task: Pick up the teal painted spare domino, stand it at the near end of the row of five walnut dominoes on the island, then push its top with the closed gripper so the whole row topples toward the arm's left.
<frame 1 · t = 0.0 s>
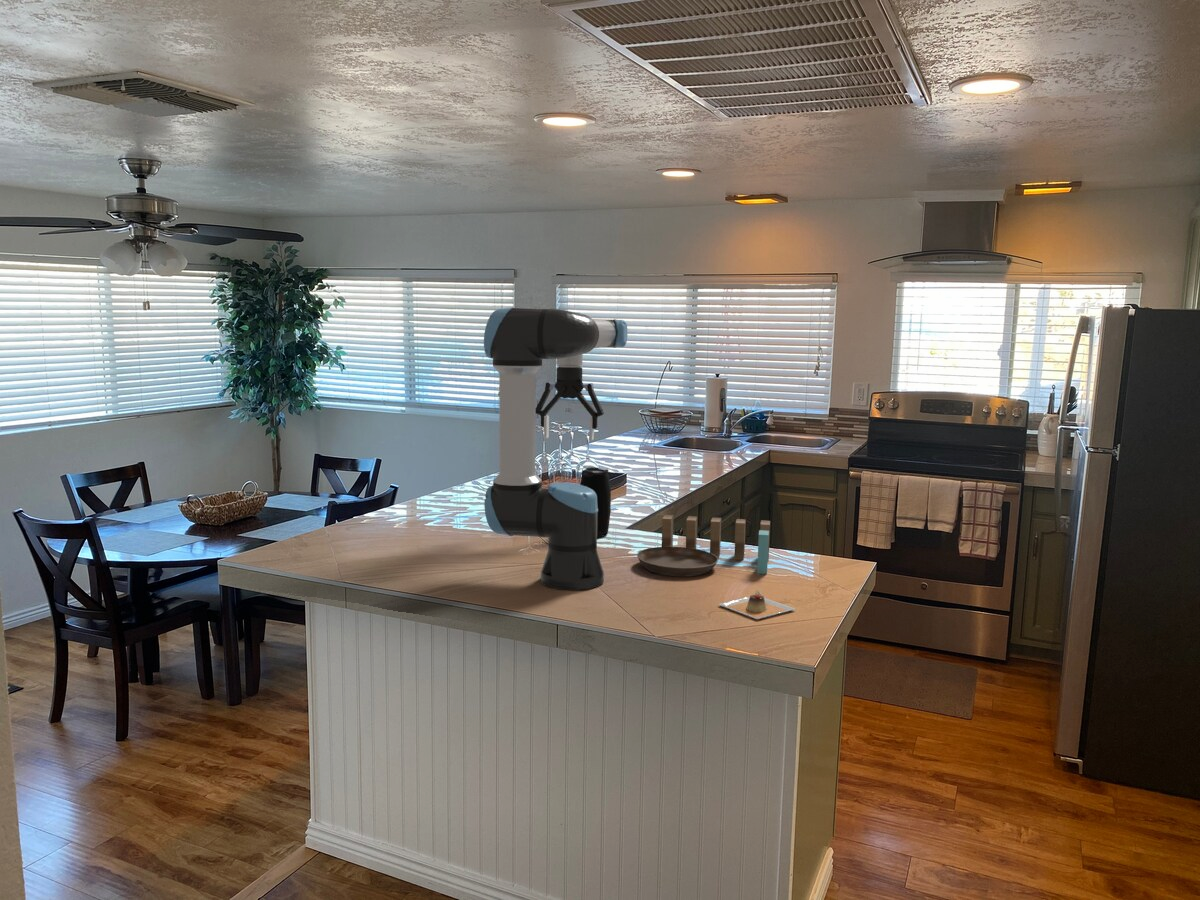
hand: (568, 439, 259), 28 cm above the worktop, fingers open, 13 cm apart
spare domino: (762, 571, 224), on the worktop
domino 4: (714, 556, 238), on the worktop
portable speaker: (594, 535, 260), on the worktop
domino 3: (739, 557, 237), on the worktop
plant saucer: (677, 569, 227), on the worktop
domino 6: (667, 552, 241), on the worktop
domino 2: (763, 559, 236), on the worktop
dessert: (756, 612, 194), on the worktop
domino 5: (690, 554, 240), on the worktop
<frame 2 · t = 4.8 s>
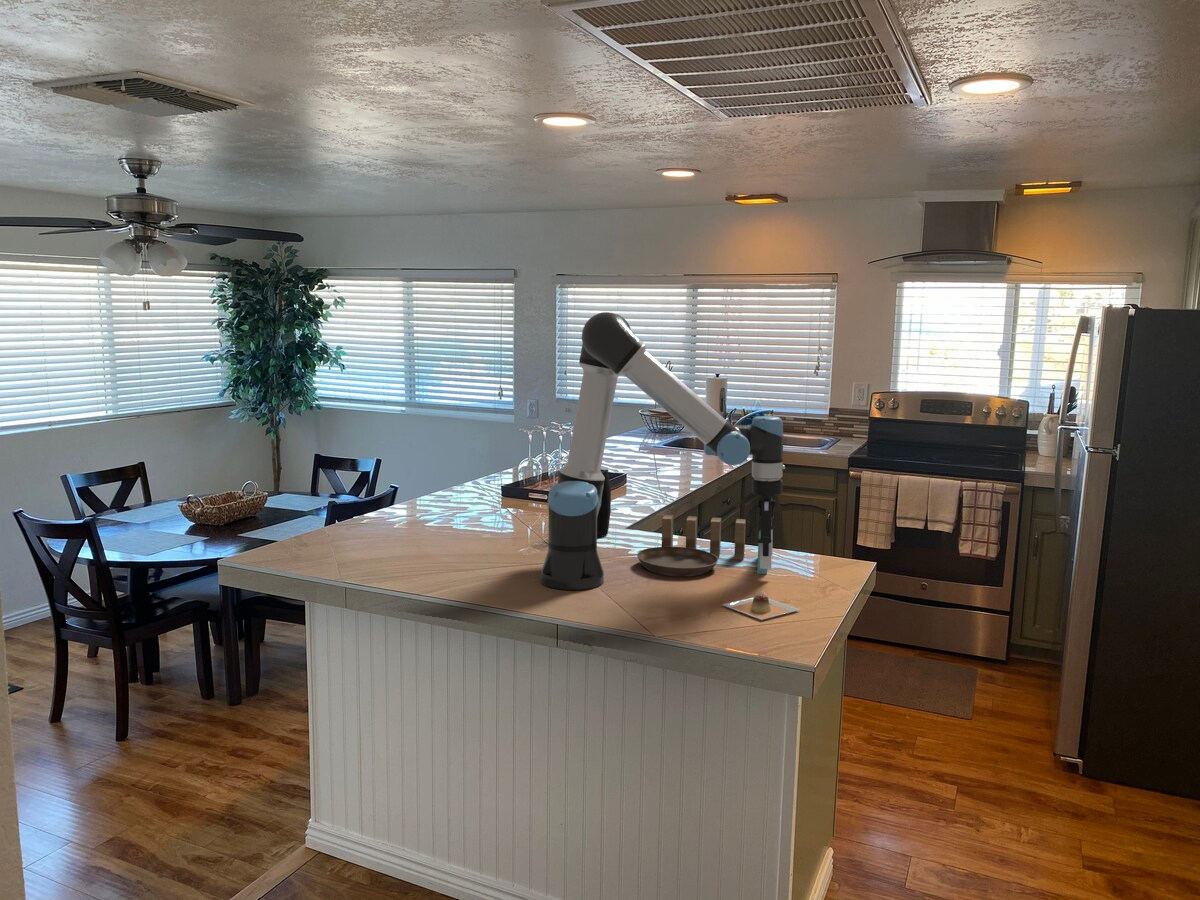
hand: (766, 561, 224), 3 cm above the worktop, fingers open, 13 cm apart
domino 2: (764, 560, 236), on the worktop, touching gripper
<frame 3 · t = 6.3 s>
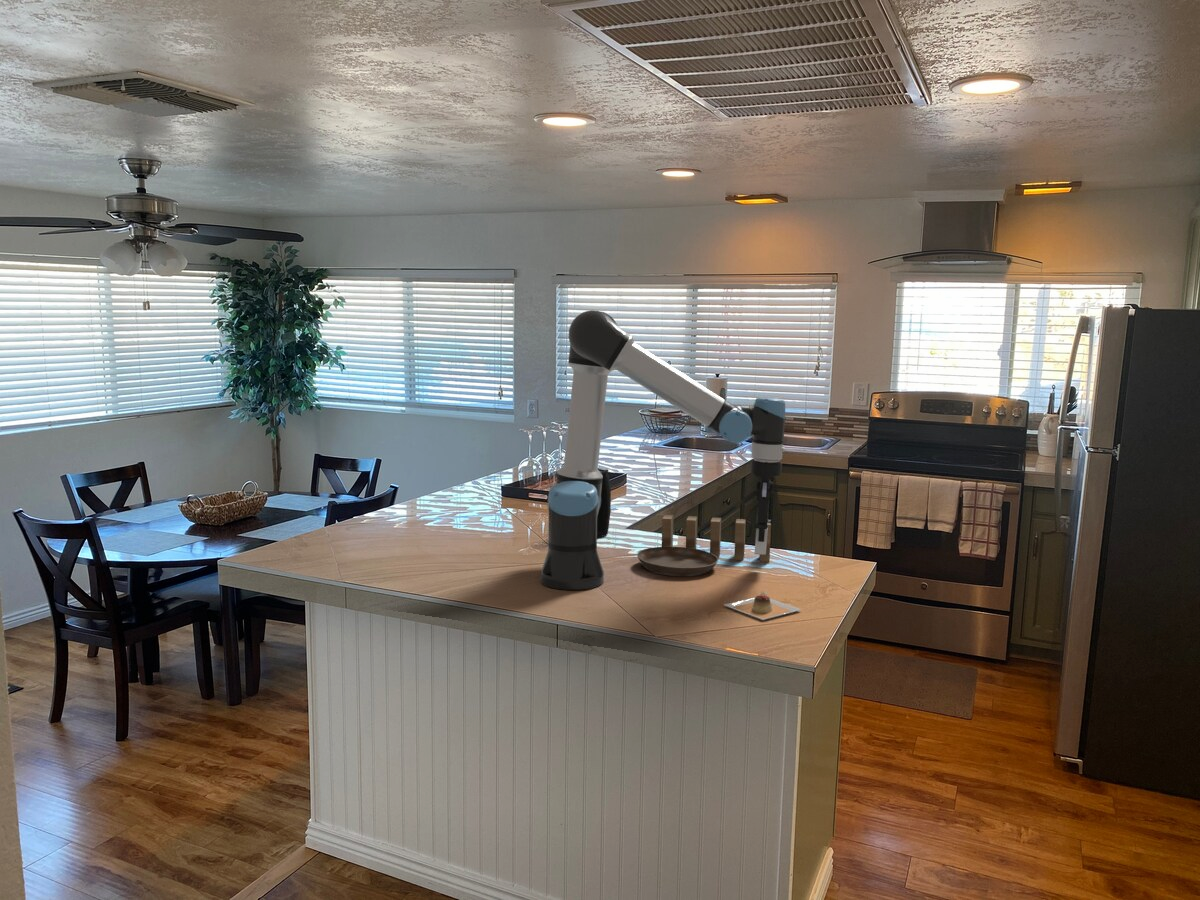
hand: (760, 550, 223), 5 cm above the worktop, fingers closed on spare domino, 5 cm apart
spare domino: (759, 552, 224), point 5 cm above the worktop, touching gripper
domino 2: (764, 559, 236), on the worktop
when the fingers open (2 cm above the worktop, at t = 10.5 s): spare domino drops 1 cm, on the worktop.
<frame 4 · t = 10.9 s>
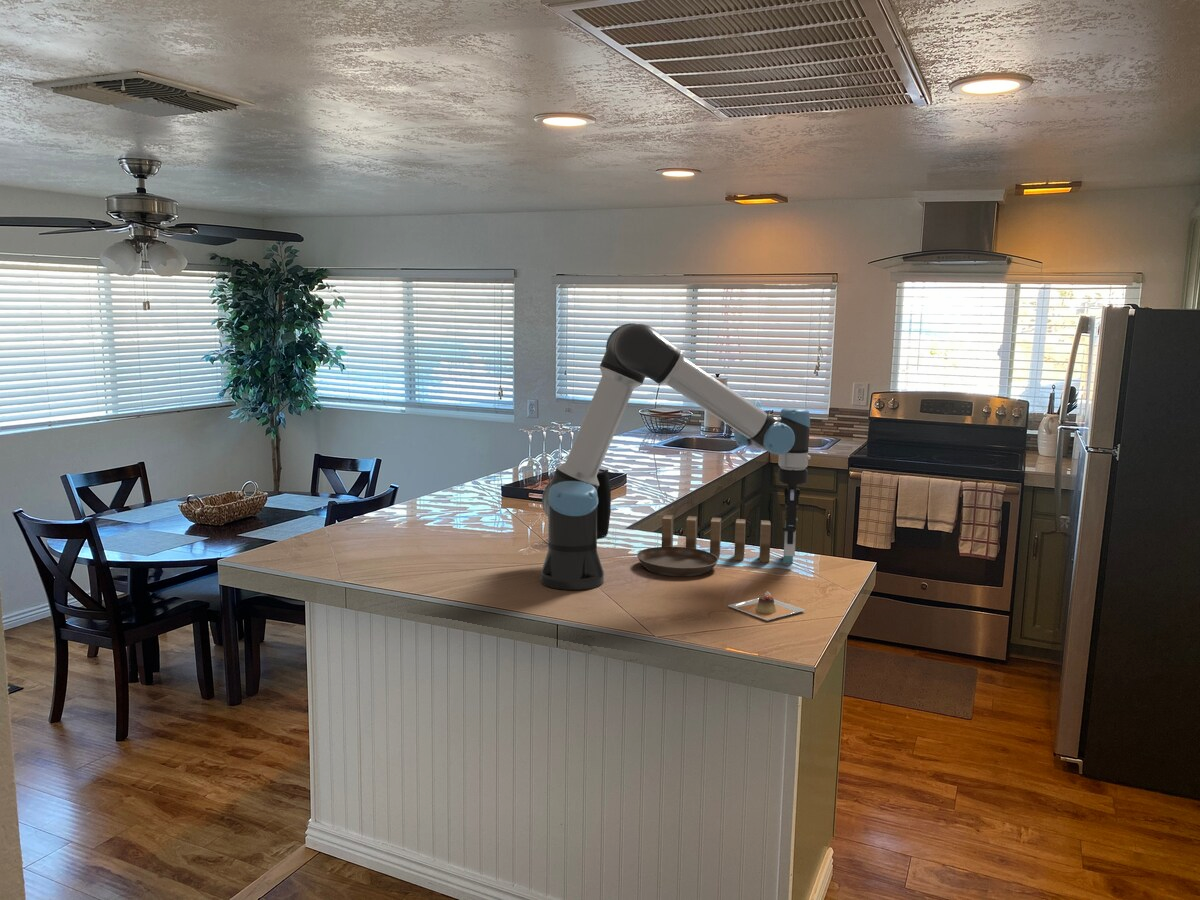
hand: (789, 550, 234), 3 cm above the worktop, fingers open, 10 cm apart
spare domino: (788, 560, 235), on the worktop
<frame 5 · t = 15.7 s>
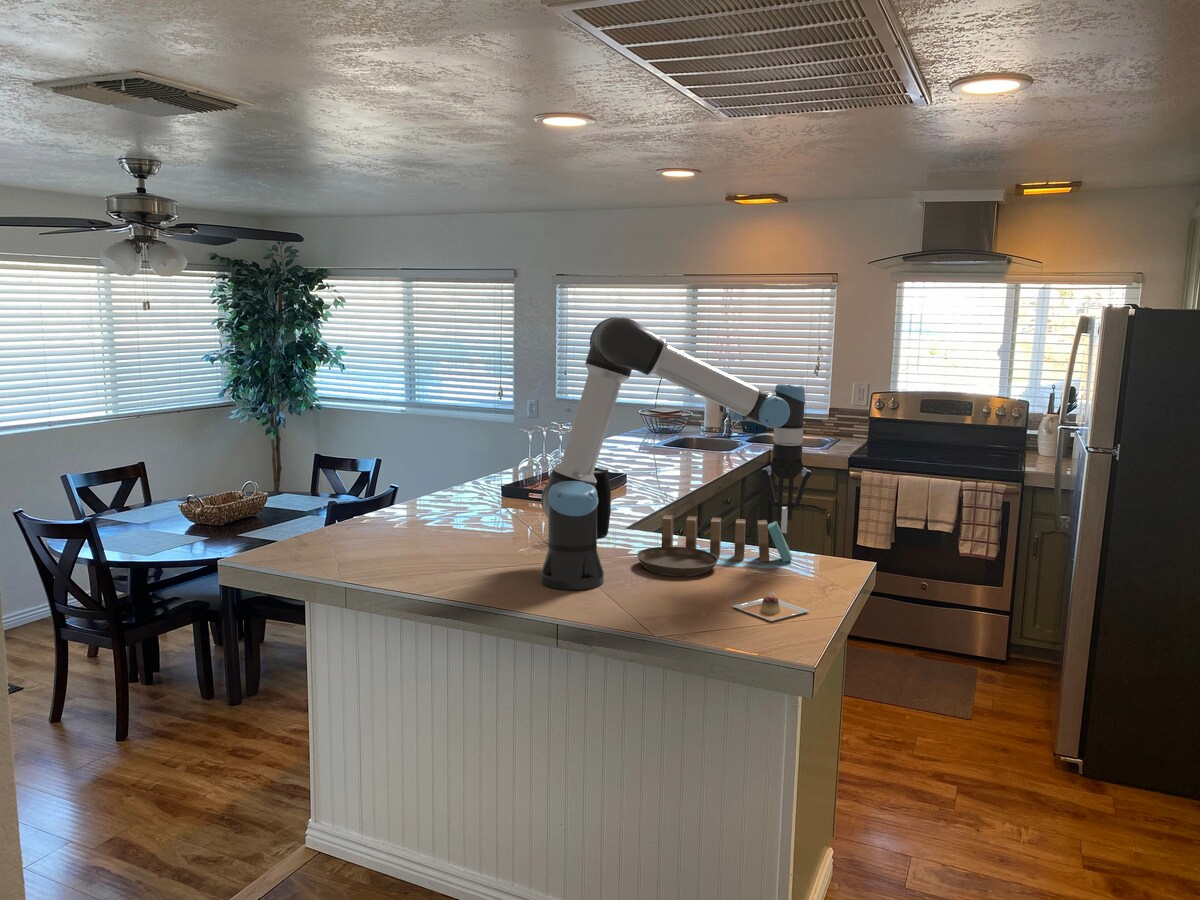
hand: (783, 531, 234), 8 cm above the worktop, fingers closed
spare domino: (787, 558, 235), on the worktop, tilted 26°
domino 2: (764, 558, 236), on the worktop, tilted 5°
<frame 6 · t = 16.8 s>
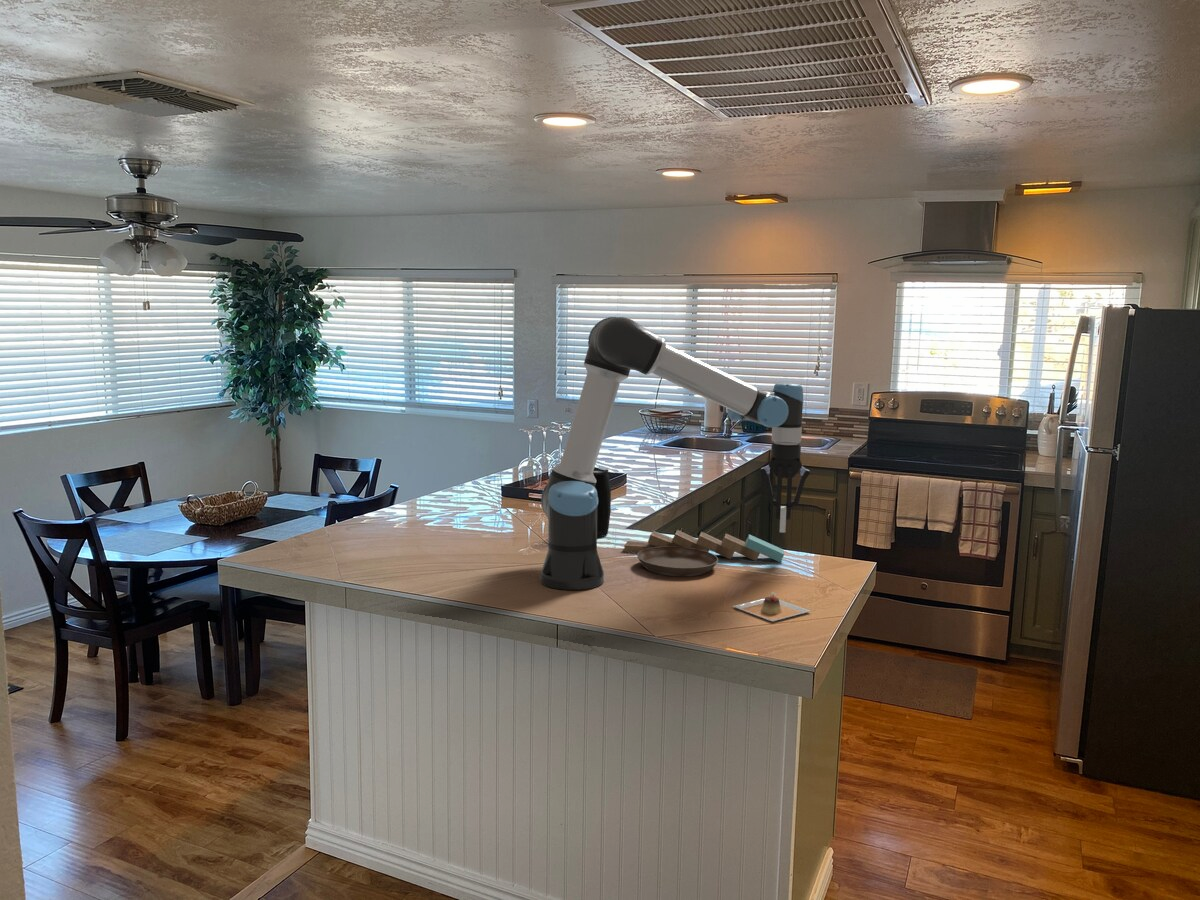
hand: (782, 531, 234), 8 cm above the worktop, fingers closed
spare domino: (781, 556, 235), point 1 cm above the worktop, tilted 68°, touching domino 2
domino 4: (708, 551, 238), point 1 cm above the worktop, tilted 68°, touching domino 3
domino 3: (733, 553, 237), point 1 cm above the worktop, tilted 68°, touching domino 2, domino 4
domino 6: (662, 549, 241), point 1 cm above the worktop, tilted 90°, touching domino 5
domino 2: (758, 554, 236), point 1 cm above the worktop, tilted 68°, touching domino 3, spare domino
domino 5: (684, 550, 240), point 1 cm above the worktop, tilted 72°, touching domino 6
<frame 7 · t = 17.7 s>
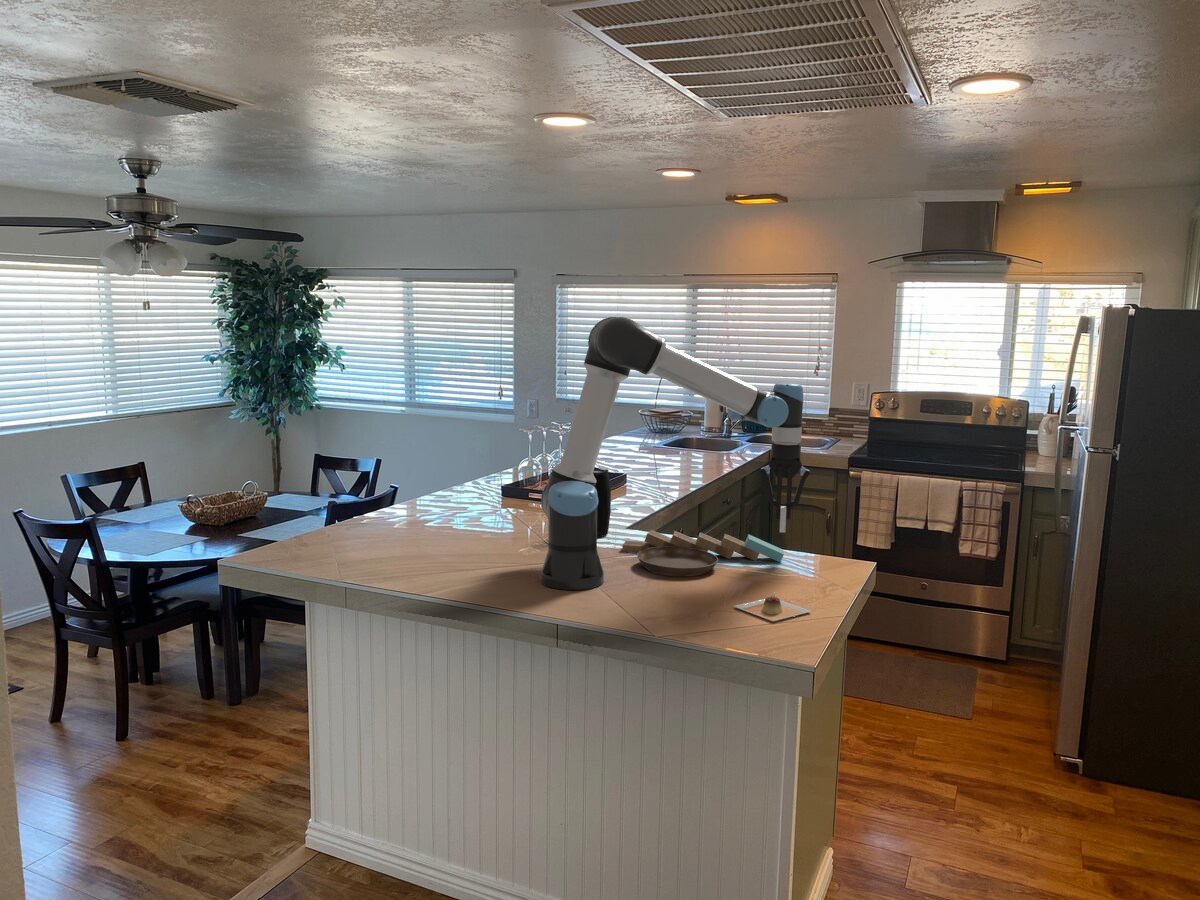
hand: (782, 531, 234), 8 cm above the worktop, fingers closed
domino 4: (706, 551, 238), point 1 cm above the worktop, tilted 69°, touching domino 3, domino 5
domino 6: (660, 549, 242), point 1 cm above the worktop, tilted 90°
domino 5: (681, 549, 240), point 1 cm above the worktop, tilted 72°, touching domino 4
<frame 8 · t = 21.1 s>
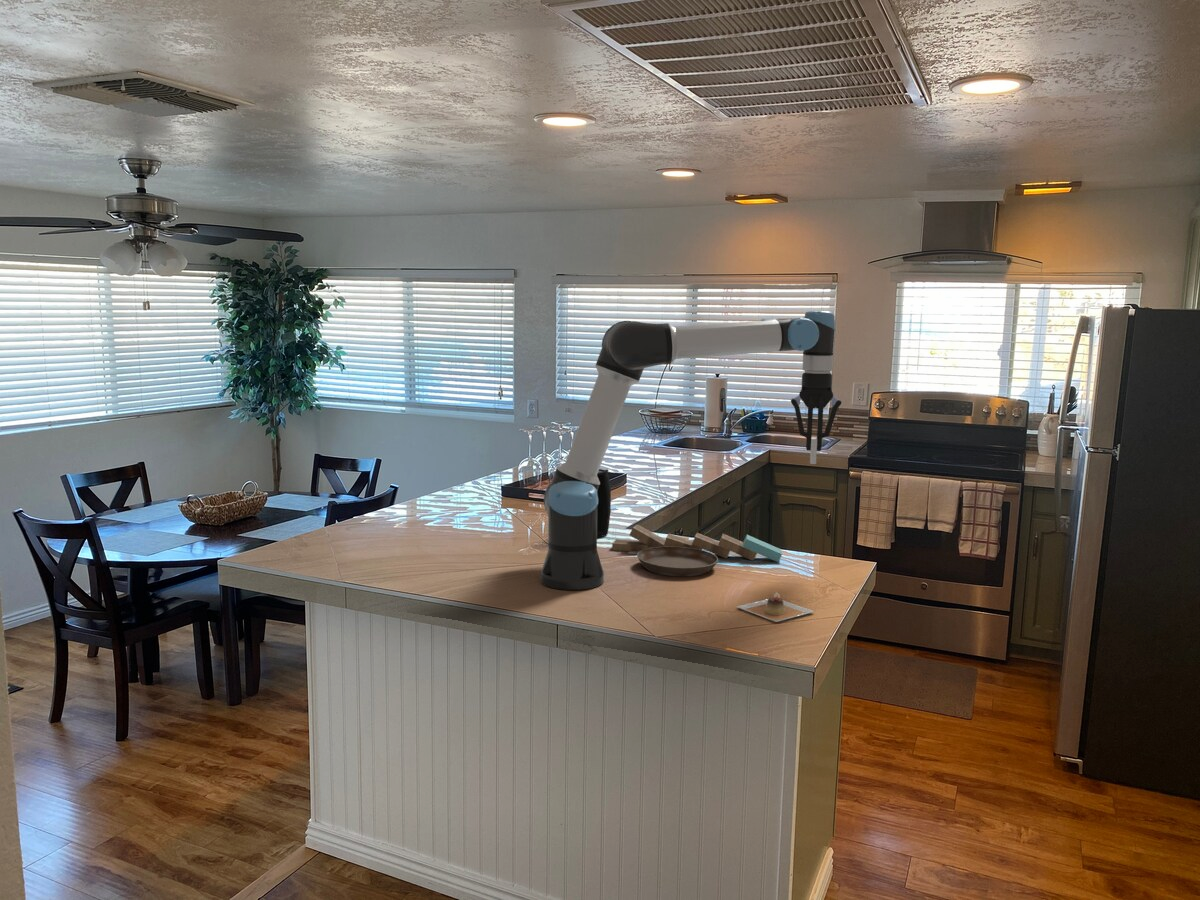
hand: (812, 463, 230), 26 cm above the worktop, fingers closed
spare domino: (779, 555, 235), point 1 cm above the worktop, tilted 69°, touching domino 2
domino 4: (701, 550, 239), point 1 cm above the worktop, tilted 75°, touching domino 3
domino 6: (649, 547, 243), point 1 cm above the worktop, tilted 90°, touching domino 5
domino 5: (664, 547, 242), point 1 cm above the worktop, tilted 65°, touching domino 6
at the end: domino 6 tilted 90°; spare domino inside the target area (0.4 cm from its centre), point 1.1 cm above the worktop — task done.
